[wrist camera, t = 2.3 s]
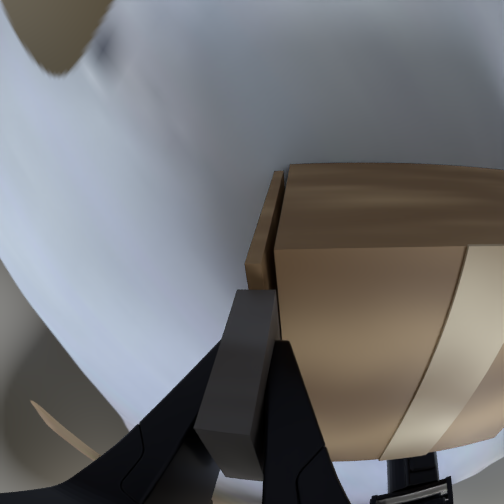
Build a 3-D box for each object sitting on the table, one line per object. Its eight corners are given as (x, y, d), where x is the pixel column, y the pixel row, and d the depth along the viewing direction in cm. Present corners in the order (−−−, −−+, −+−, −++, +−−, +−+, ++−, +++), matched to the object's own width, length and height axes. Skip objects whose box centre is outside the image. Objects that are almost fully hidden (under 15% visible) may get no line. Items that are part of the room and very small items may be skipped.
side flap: (300, 366, 21) (281, 526, 11) (285, 365, 21) (262, 524, 11) (290, 170, 14) (242, 413, 4) (268, 171, 14) (179, 405, 4)
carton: (468, 354, 19) (493, 439, 12) (300, 364, 21) (290, 462, 15) (526, 171, 11) (615, 244, 5) (290, 163, 14) (273, 249, 8)
